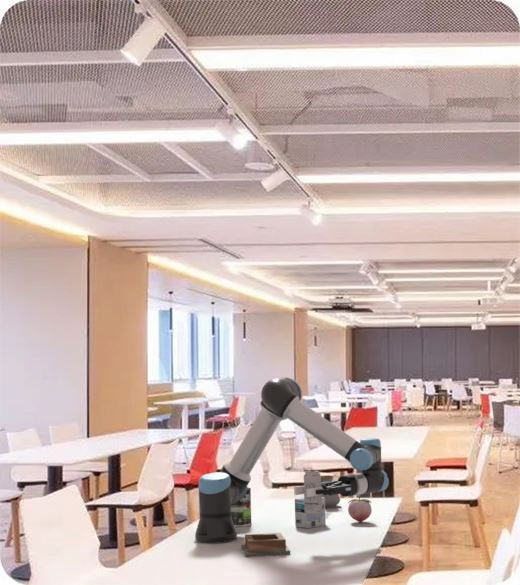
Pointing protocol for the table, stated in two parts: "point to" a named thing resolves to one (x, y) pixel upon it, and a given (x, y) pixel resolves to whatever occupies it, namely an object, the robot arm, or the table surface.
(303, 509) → the light bulb box
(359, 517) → the decorative fruit
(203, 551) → the table surface
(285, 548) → the brown wooden open box
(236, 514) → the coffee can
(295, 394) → the robot arm
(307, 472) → the energy drink can
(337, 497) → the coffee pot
